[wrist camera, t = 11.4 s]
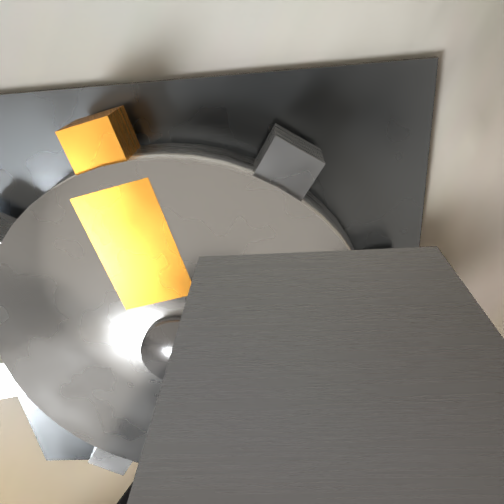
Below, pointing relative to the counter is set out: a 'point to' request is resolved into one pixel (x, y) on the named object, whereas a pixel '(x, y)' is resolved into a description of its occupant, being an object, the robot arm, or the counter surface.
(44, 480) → the counter surface
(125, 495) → the robot arm
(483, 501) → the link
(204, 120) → the cover plate
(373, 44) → the counter surface
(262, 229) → the sprocket
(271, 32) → the counter surface
